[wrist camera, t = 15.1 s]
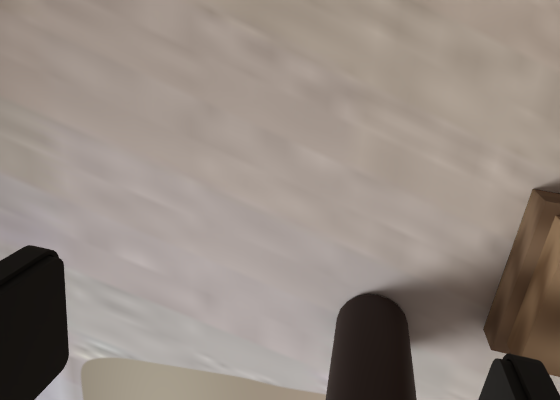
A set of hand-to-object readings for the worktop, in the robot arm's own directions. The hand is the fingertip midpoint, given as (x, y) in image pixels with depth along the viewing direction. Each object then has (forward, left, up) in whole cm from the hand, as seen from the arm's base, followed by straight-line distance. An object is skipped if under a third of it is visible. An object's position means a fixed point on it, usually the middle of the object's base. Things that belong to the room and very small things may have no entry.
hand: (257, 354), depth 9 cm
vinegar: (+19, +6, -31) cm, 36 cm away
